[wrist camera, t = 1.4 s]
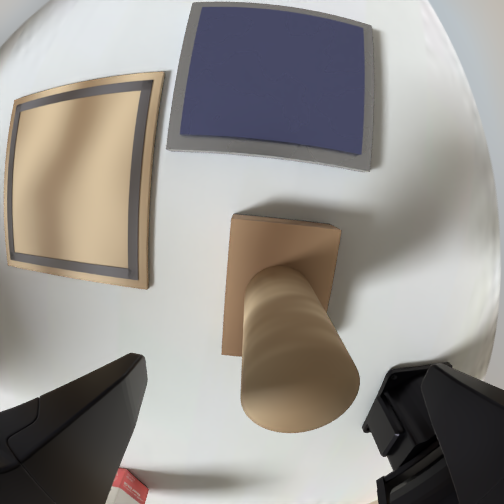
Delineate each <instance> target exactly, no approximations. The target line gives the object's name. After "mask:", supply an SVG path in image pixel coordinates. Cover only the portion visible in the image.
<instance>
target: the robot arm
mask: <svg viewBox="0 0 504 504" xmlns="http://www.w3.org/2000/svg"><path fill="white" fill-rule="evenodd" d="M393 375H394V376H393ZM392 376H393V377H392ZM147 380H148V378H147V369H146V361H145V357H144V356H143V355H140V354H135V353H129V354H127V355H125V356H123V357H121V358H119V359H117V360H115V361H113V362H111V363H109V364H107V365H105V366H103V367H101V368H99V369H97V370H95V371H93V372H91V373H88V374H86V375H84V376H82V377H80V378H78V379H76V380H74V381H72V382H70V383H68V384H65V385H63V386H61V387H59V388H57V389H55V390H53V391H50V392H48V393H46V394H44V395H42V396H40V398H38V397H37V398H35V399H33V400H30V401H28V402H26V403H23V404H21V405H18V406H16V407H14V408H11V409H8V410H5V411H2V412H0V504H105V503H106V500H107V498H108V495H109V492H110V490H111V487H112V484H113V482H114V479H115V476H116V474H117V471H118V469H119V466H120V463H121V461H122V458H123V456H124V453H125V451H126V448H127V446H128V443H129V441H130V438H131V436H132V433H133V431H134V428H135V426H136V422H137V419H138V415H139V411H140V407H141V404H142V400H143V397H144V393H145V389H146V386H147ZM362 429H363V431H364V432H365V433H369V432H371V433H372V435H373V437H374V440H375V442H376V444H377V447H378V449H379V451H380V454H381V455H382V456H383V457H386V456H387V457H388V460H389V462H390V464H391V467H392V469H393V472H391V473H389V474H388V475H386V476H383V477H381V478H379V479H378V480H376V482H377V495H378V503H379V504H504V390H502V389H500V388H497V387H495V386H493V385H490V384H488V383H485V382H483V381H481V380H479V379H476V378H474V377H472V376H469V375H467V374H465V373H462V372H460V371H458V370H456V369H453V368H452V365H451V364H450V363H449V362H447V363H438V364H432V365H426V366H418V367H410V368H400V369H392V370H390V371H389V372H388V373H387V374H386V376H385V378H384V381H383V383H382V386H381V388H380V390H379V392H378V395H377V397H376V399H375V401H374V403H373V405H372V407H371V409H370V411H369V414H368V416H367V418H366V420H365V422H364V424H363V426H362Z"/></svg>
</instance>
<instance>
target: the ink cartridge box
mask: <svg viewBox="0 0 504 504" xmlns="http://www.w3.org/2000/svg"><path fill="white" fill-rule="evenodd" d="M148 491H149V489H148V488H147V487H146V486H144V485H143V484H142V483H141V482H140V481H139V480H138V479H137V478H136V477H134V476H133V475H132V474H131V473H130V472H129V471H128V470H127V469H122V468H119V469H118V471H117V474H116V476H115V479H114V482H113V484H112V487H111V490H110V492H109V495H108V498H107V500H106V503H105V504H145V501H146V498H147V494H148Z"/></svg>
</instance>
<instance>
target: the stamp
mask: <svg viewBox="0 0 504 504" xmlns="http://www.w3.org/2000/svg"><path fill="white" fill-rule="evenodd" d="M340 236H341V230H340V229H338V228H336V227H334V226H332V225H331V224H326V223H318V222H309V221H301V220H292V219H282V218H273V217H263V216H253V215H242V214H233V216H232V218H231V228H230V240H229V252H228V265H227V278H226V292H225V306H224V322H223V338H222V355H230V356H242V373H241V405H242V407H243V410H244V412H245V413H246V415H247V416H248V417H249V418H250V419H251V420H252V421H253V422H254V423H256V424H257V425H259V426H261V427H263V428H265V429H268V430H271V431H276V432H282V433H299V432H306V431H310V430H314V429H317V428H320V427H322V426H324V425H327V424H329V423H330V422H332V421H334V420H335V419H337V418H338V417H339V416H341V415H342V414H343V413H344V412H345V411H346V410H347V409H348V408H349V407H350V406H351V404H352V403H353V401H354V400H355V398H356V396H357V394H358V390H359V386H360V377H359V373H358V370H357V368H356V366H355V364H354V362H353V360H352V358H351V357H350V355H349V353H348V351H347V349H346V347H345V346H344V344H343V342H342V340H341V338H340V337H339V335H338V333H337V331H336V329H335V327H334V326H333V324H332V322H331V320H330V319H329V317H328V315H327V308H328V303H329V298H330V293H331V288H332V283H333V278H334V272H335V267H336V261H337V255H338V249H339V243H340Z"/></svg>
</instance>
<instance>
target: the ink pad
mask: <svg viewBox="0 0 504 504" xmlns="http://www.w3.org/2000/svg"><path fill="white" fill-rule="evenodd" d="M373 115H374V57H373V37H372V26H371V25H368V24H364V23H361V22H358V21H354V20H351V19H347V18H343V17H339V16H335V15H331V14H326V13H322V12H317V11H312V10H306V9H300V8H294V7H287V6H279V5H270V4H259V3H244V2H195V3H193V4H192V7H191V11H190V15H189V19H188V23H187V28H186V32H185V36H184V41H183V45H182V50H181V55H180V60H179V65H178V71H177V76H176V82H175V88H174V94H173V100H172V107H171V114H170V121H169V129H168V138H167V146H166V149H167V150H169V151H174V152H201V153H218V154H232V155H244V156H255V157H265V158H274V159H282V160H290V161H298V162H305V163H312V164H319V165H325V166H331V167H337V168H343V169H348V170H354V171H359V172H370V164H371V152H372V137H373Z"/></svg>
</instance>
